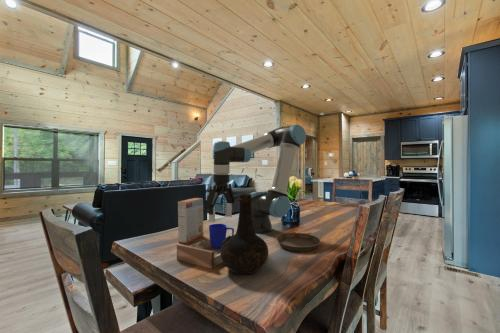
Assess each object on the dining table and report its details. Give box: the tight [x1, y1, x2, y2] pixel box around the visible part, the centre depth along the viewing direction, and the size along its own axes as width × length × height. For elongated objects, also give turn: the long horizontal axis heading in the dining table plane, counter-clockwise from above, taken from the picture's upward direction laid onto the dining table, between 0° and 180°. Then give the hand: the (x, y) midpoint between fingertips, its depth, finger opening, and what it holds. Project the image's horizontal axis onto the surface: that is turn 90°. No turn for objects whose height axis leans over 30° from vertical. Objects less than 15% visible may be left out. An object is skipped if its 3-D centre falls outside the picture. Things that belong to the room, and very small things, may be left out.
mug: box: [208, 223, 235, 249], centre depth 113 cm, size 8×12×10 cm
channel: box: [176, 239, 224, 269], centre depth 101 cm, size 17×18×6 cm
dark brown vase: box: [220, 193, 269, 275], centre depth 89 cm, size 18×18×28 cm
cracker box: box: [177, 197, 204, 244], centre depth 125 cm, size 14×6×21 cm, turn 155°
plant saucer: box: [276, 232, 321, 252], centre depth 116 cm, size 21×21×3 cm
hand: (220, 219), depth 113 cm, fingers open, 13 cm apart
